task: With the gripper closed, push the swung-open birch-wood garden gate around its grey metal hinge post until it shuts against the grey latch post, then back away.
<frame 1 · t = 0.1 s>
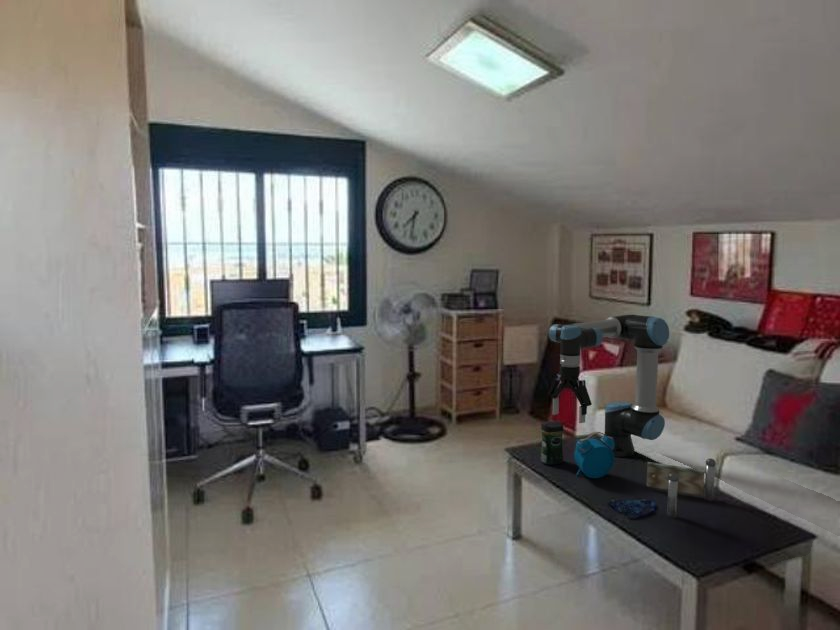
hand: (568, 418, 227), 28 cm above the table, tool pointing down, fingers open, 13 cm apart
gate posts: (690, 507, 212), on the table
gate: (674, 479, 222), point 6 cm above the table, hinge at -60.0°
rock: (634, 509, 212), on the table
coffee jar: (551, 462, 256), on the table
alarm clock: (592, 477, 240), on the table
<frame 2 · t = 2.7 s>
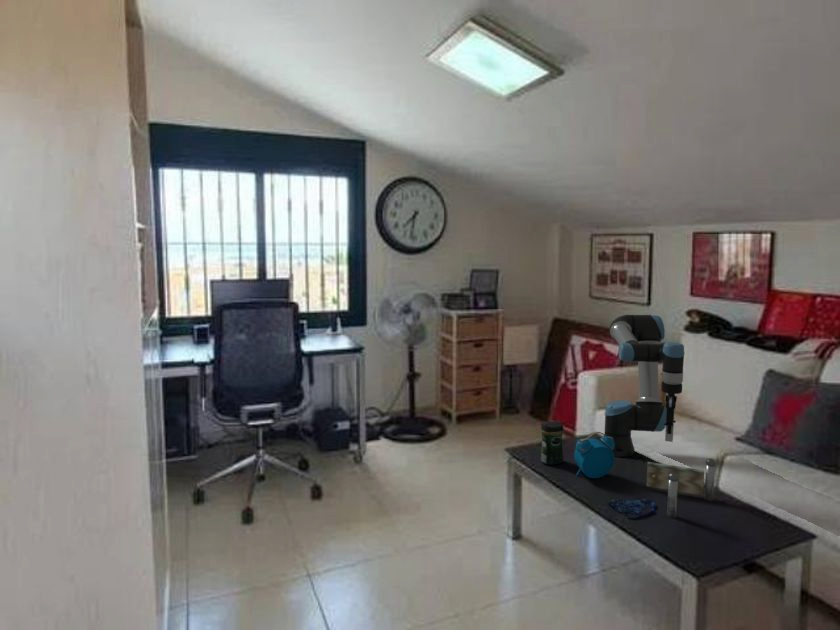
hand: (669, 439, 230), 19 cm above the table, tool pointing down, fingers open, 3 cm apart
nothing on the table moved.
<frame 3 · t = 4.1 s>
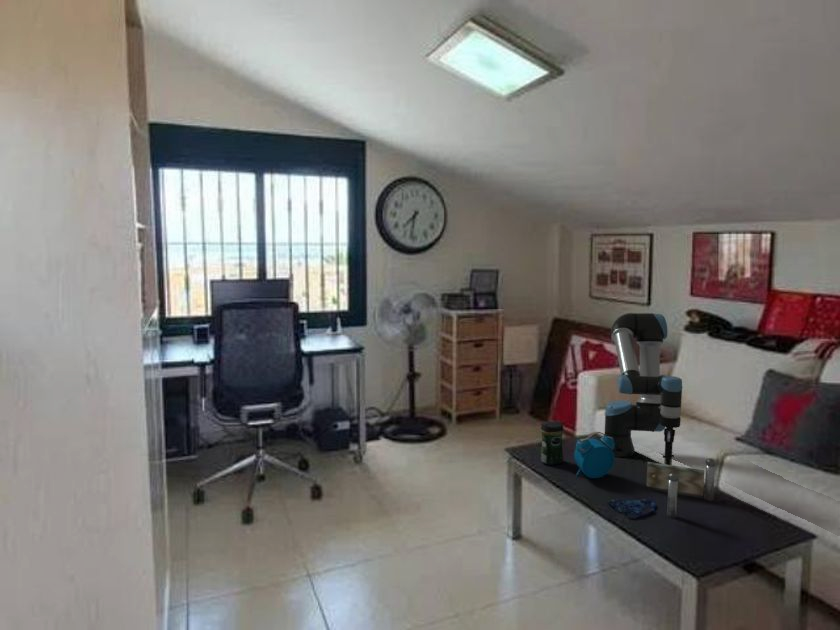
hand: (667, 473, 231), 5 cm above the table, tool pointing down, fingers closed
nothing on the table moved.
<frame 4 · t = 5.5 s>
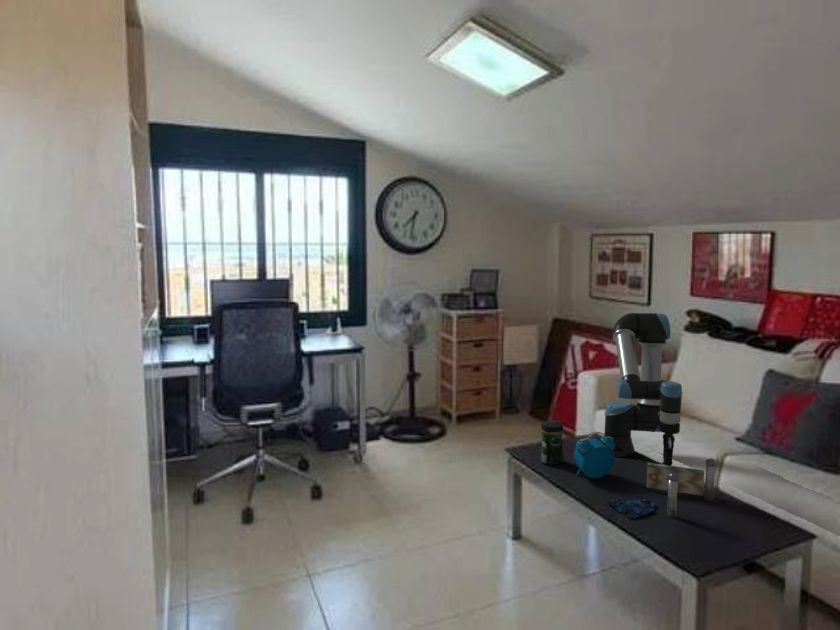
hand: (666, 479, 228), 4 cm above the table, tool pointing down, fingers closed
gate: (674, 479, 222), point 6 cm above the table, hinge at -57.5°, touching gripper
everything else where it was.
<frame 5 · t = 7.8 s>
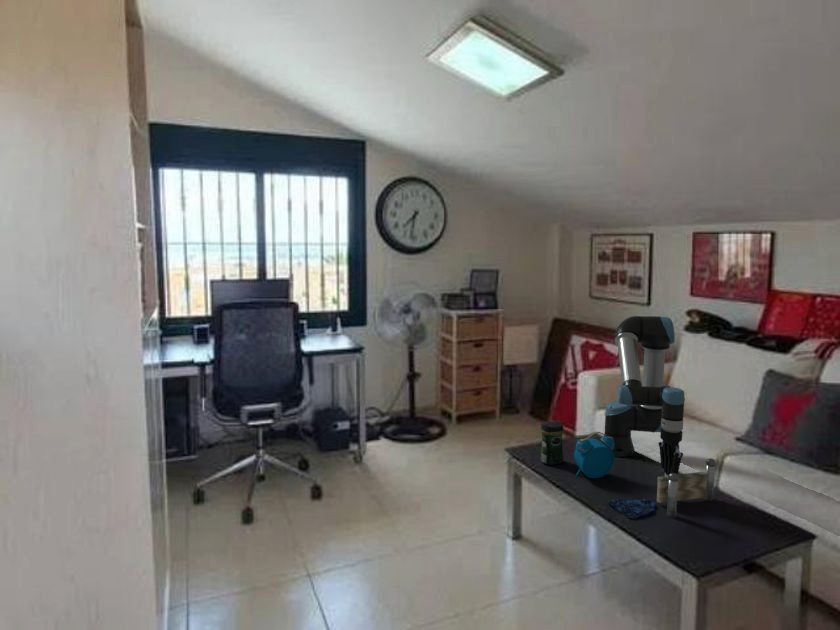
hand: (668, 489, 219), 3 cm above the table, tool pointing down, fingers closed
gate: (683, 488, 214), point 6 cm above the table, hinge at -20.3°, touching gripper
everything else where it was.
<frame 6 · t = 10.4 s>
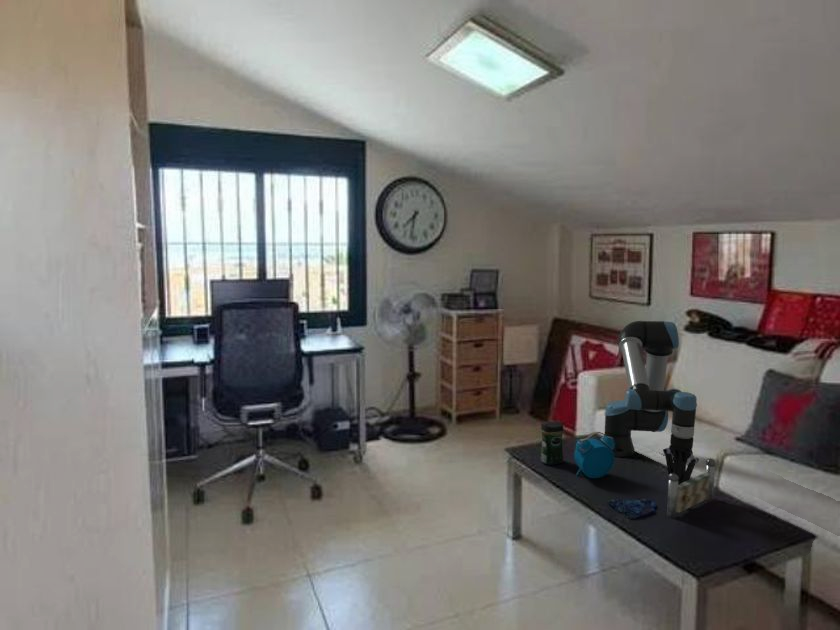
hand: (677, 496, 213), 4 cm above the table, tool pointing down, fingers closed
gate: (694, 492, 210), point 6 cm above the table, hinge at 2.4°, touching gripper
everything else where it was.
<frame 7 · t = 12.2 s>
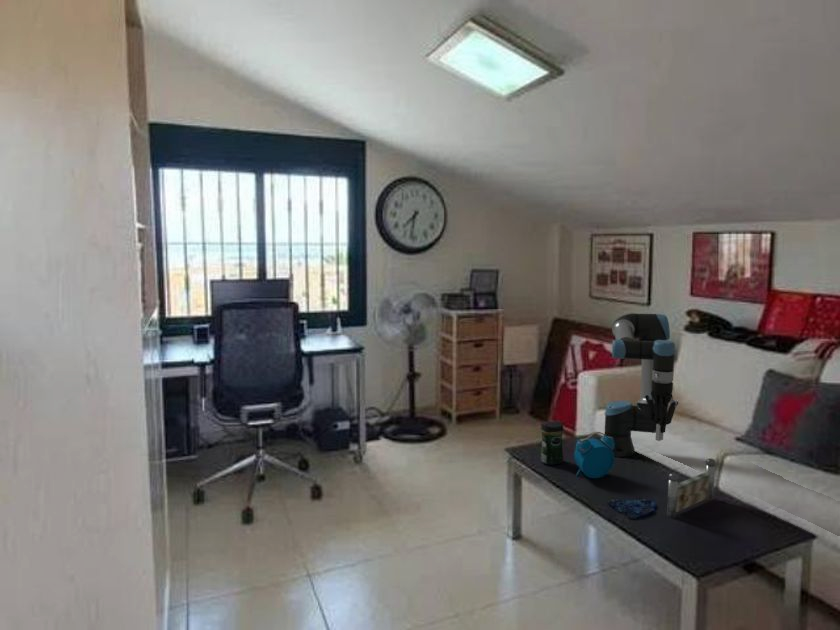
hand: (659, 439, 225), 20 cm above the table, tool pointing down, fingers closed
gate: (693, 492, 210), point 6 cm above the table, hinge at 0.4°
everything else where it was.
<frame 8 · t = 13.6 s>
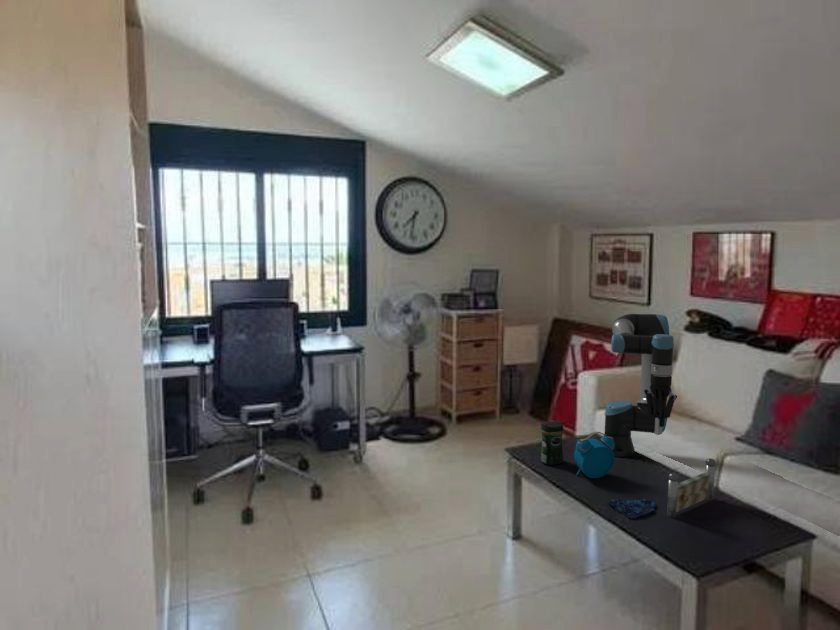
hand: (658, 433, 225), 22 cm above the table, tool pointing down, fingers closed
nothing on the table moved.
at the end: gate at +0° (first picture: -60°); rock moved 0.8 cm from its start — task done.
